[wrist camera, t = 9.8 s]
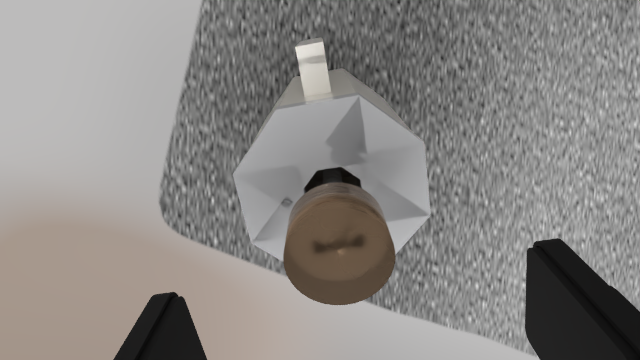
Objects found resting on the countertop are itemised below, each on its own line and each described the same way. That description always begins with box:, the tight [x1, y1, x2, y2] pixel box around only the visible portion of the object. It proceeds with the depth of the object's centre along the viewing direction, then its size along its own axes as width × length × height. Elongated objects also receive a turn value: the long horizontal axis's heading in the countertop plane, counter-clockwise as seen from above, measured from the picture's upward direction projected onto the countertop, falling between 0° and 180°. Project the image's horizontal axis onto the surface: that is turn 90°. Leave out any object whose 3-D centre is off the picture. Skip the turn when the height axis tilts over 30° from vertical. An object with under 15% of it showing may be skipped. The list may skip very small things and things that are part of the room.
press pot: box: [233, 37, 431, 261], centre depth 25 cm, size 12×9×13 cm
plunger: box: [283, 167, 395, 305], centre depth 23 cm, size 4×4×17 cm
